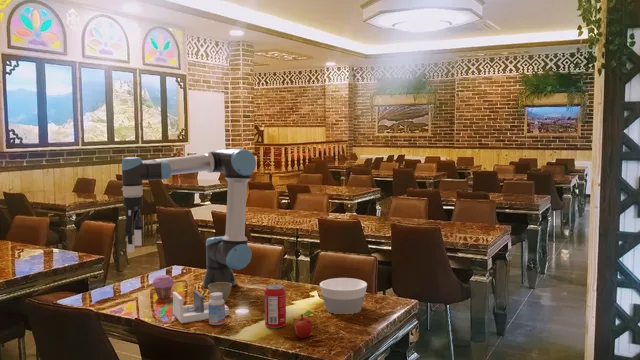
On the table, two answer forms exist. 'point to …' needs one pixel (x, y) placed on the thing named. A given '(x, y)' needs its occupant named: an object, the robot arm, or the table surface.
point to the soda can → (275, 306)
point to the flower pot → (221, 289)
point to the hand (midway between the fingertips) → (134, 248)
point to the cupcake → (163, 286)
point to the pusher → (197, 302)
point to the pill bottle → (216, 309)
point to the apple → (303, 325)
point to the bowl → (343, 295)
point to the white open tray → (186, 315)
